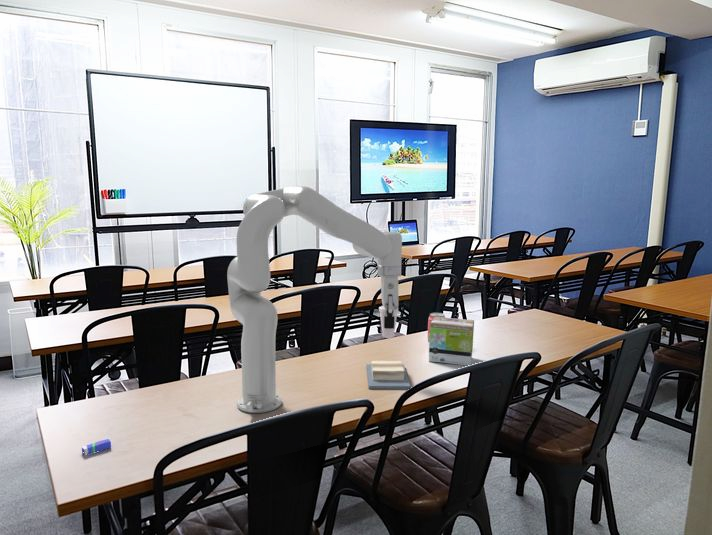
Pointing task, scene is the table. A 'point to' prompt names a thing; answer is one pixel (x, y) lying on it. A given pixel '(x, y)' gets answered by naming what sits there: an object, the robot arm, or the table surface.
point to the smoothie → (385, 332)
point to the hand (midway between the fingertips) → (388, 324)
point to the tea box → (451, 340)
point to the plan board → (387, 381)
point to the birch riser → (387, 370)
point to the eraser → (96, 447)
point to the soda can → (431, 321)
